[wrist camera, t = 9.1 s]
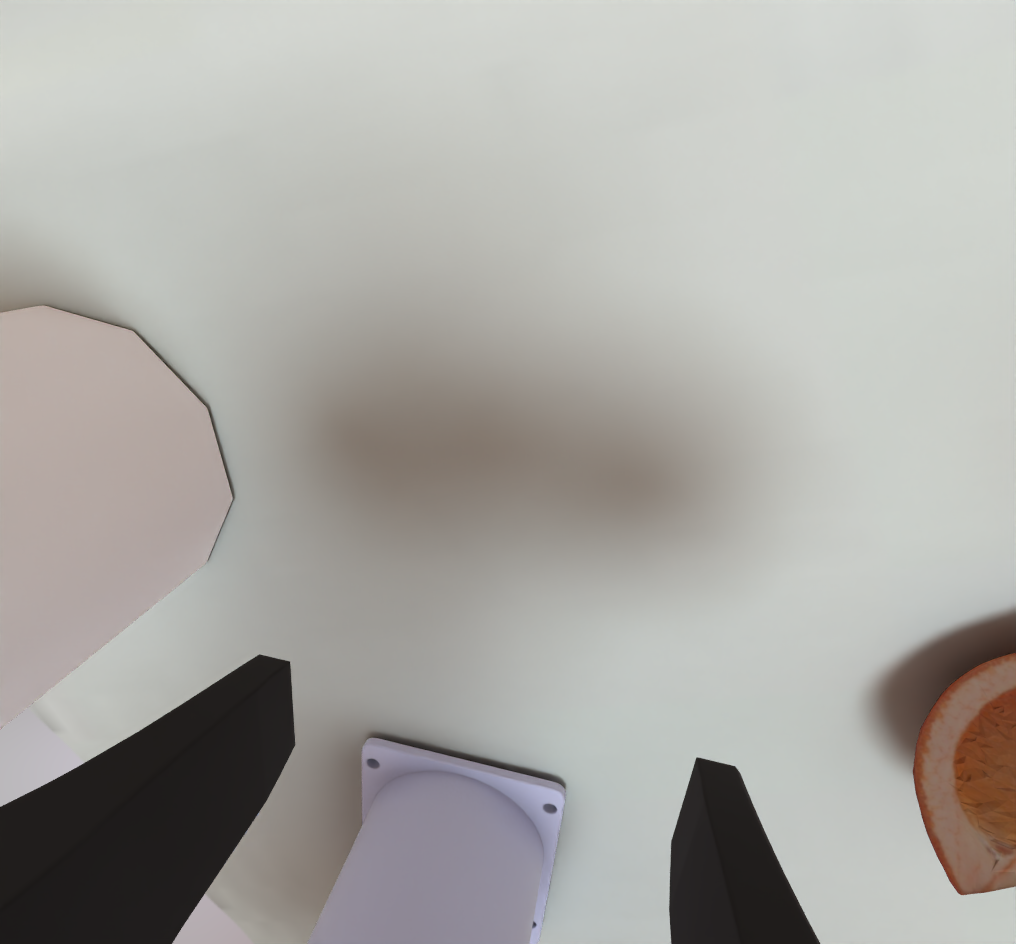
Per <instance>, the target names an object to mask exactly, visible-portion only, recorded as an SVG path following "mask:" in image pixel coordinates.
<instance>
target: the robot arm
mask: <svg viewBox="0 0 1016 944" xmlns="http://www.w3.org/2000/svg"><path fill="white" fill-rule="evenodd" d="M294 746H295V734H294V718H293V701H292V685H291V669H290V662H289V661H285V660H280V659H276V658H272V657H268V656H263V655H258V656H256V657H255V658H253V659H252V660H250V661H248V662H247V663H245V664H244V665H242V666H240V667H239V668H237V669H236V670H234V671H233V672H231V673H230V674H228V675H227V676H225V677H223V678H222V679H220V680H219V681H217V682H216V683H214V684H213V685H211V686H210V687H208V688H207V689H205V690H203V691H202V692H200V693H199V694H197V695H196V696H194V697H193V698H191V699H190V700H188V701H186V702H185V703H183V704H182V705H180V706H179V707H177V708H175V709H174V710H172V711H171V712H169V713H167V714H166V715H164V716H163V717H161V718H159V719H158V720H156V721H155V722H153V723H152V724H150V725H148V726H147V727H145V728H144V729H142V730H140V731H139V732H137V733H135V734H134V735H132V736H130V737H128V738H127V739H125V740H123V741H122V742H120V743H118V744H116V745H115V746H113V747H111V748H109V749H108V750H106V751H104V752H103V753H101V754H99V755H97V756H96V757H94V758H92V759H91V760H89V761H87V762H85V763H84V764H82V765H80V766H79V767H77V768H75V769H73V770H71V771H69V772H68V773H66V774H64V775H62V776H60V777H58V778H57V779H55V780H53V781H51V782H49V783H47V784H45V785H43V786H41V787H40V788H38V789H36V790H33V791H31V792H29V793H27V794H25V795H24V796H21V797H19V798H17V799H15V800H13V801H11V802H9V803H7V804H6V805H3V806H2V807H0V944H172V943H173V941H174V940H175V938H176V936H177V935H178V933H179V931H180V930H181V928H182V927H183V925H184V924H185V922H186V921H187V919H188V918H189V916H190V915H191V913H192V912H193V910H194V909H195V907H196V906H197V904H198V903H199V901H200V900H201V898H202V897H203V895H204V894H205V892H206V891H207V889H208V888H209V886H210V885H211V883H212V882H213V880H214V879H215V877H216V876H217V875H218V873H219V872H220V870H221V869H222V867H223V866H224V864H225V863H226V861H227V860H228V858H229V857H230V855H231V854H232V852H233V851H234V849H235V848H236V846H237V845H238V843H239V842H240V840H241V839H242V837H243V836H244V834H245V833H246V831H247V830H248V828H249V827H250V825H251V824H252V822H253V821H254V819H255V817H256V816H257V814H258V813H259V811H260V810H261V808H262V807H263V805H264V804H265V802H266V801H267V799H268V797H269V795H270V793H271V791H272V789H273V787H274V786H275V784H276V782H277V780H278V778H279V776H280V774H281V772H282V770H283V768H284V766H285V764H286V762H287V760H288V758H289V756H290V754H291V752H292V750H293V748H294ZM565 798H566V791H565V789H564V787H563V786H561V785H560V784H559V783H556V782H553V781H549V780H545V779H541V778H537V777H533V776H529V775H525V774H521V773H517V772H512V771H508V770H504V769H500V768H496V767H492V766H488V765H484V764H480V763H476V762H472V761H468V760H464V759H460V758H456V757H452V756H448V755H444V754H440V753H436V752H432V751H428V750H424V749H420V748H415V747H411V746H407V745H403V744H399V743H395V742H391V741H387V740H383V739H379V738H369V739H368V740H367V741H366V742H365V744H364V745H363V747H362V827H361V829H360V831H359V833H358V836H357V838H356V840H355V842H354V844H353V846H352V848H351V851H350V853H349V855H348V857H347V859H346V861H345V863H344V865H343V868H342V870H341V872H340V874H339V876H338V878H337V880H336V883H335V885H334V887H333V889H332V891H331V893H330V895H329V897H328V900H327V902H326V904H325V906H324V908H323V910H322V912H321V914H320V917H319V919H318V921H317V923H316V925H315V927H314V929H313V932H312V934H311V936H310V938H309V940H308V942H307V944H537V943H538V942H539V940H540V935H541V929H542V924H543V918H544V913H545V908H546V902H547V897H548V891H549V886H550V880H551V875H552V870H553V864H554V859H555V853H556V848H557V842H558V837H559V832H560V826H561V821H562V815H563V810H564V804H565ZM551 804H552V805H551ZM669 912H670V929H671V944H820V942H819V940H818V938H817V937H816V935H815V933H814V931H813V929H812V927H811V925H810V923H809V922H808V920H807V918H806V916H805V914H804V912H803V910H802V908H801V906H800V904H799V902H798V900H797V898H796V896H795V894H794V892H793V890H792V888H791V886H790V884H789V882H788V880H787V878H786V876H785V874H784V872H783V870H782V868H781V865H780V863H779V861H778V859H777V857H776V855H775V853H774V851H773V848H772V846H771V844H770V842H769V840H768V838H767V835H766V833H765V831H764V829H763V827H762V824H761V822H760V820H759V817H758V815H757V813H756V811H755V808H754V806H753V804H752V801H751V799H750V796H749V794H748V792H747V789H746V787H745V784H744V782H743V779H742V777H741V774H740V772H739V771H738V770H737V768H736V767H735V766H731V765H727V764H723V763H719V762H714V761H710V760H706V759H702V758H696V761H695V764H694V768H693V771H692V774H691V778H690V781H689V784H688V788H687V791H686V794H685V798H684V801H683V804H682V808H681V811H680V814H679V818H678V821H677V825H676V828H675V831H674V835H673V838H672V841H671V867H670V904H669Z"/></svg>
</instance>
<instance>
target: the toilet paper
mask: <svg viewBox="0 0 1016 944" xmlns="http://www.w3.org/2000/svg"><path fill="white" fill-rule="evenodd" d="M232 500H233V497H232V493H231V490H230V486H229V483H228V479H227V476H226V472H225V469H224V465H223V462H222V458H221V455H220V451H219V447H218V444H217V440H216V437H215V433H214V430H213V426H212V423H211V419H210V416H209V412H208V409H207V408H206V406H205V405H204V404H203V403H202V402H201V401H200V400H199V399H198V398H197V397H196V396H195V395H194V394H193V393H192V392H191V391H190V390H189V389H188V388H187V387H186V386H185V385H184V384H183V382H182V381H181V380H180V379H179V378H178V377H177V376H176V375H175V374H174V373H173V372H172V371H171V370H170V369H169V368H168V367H167V366H166V365H165V364H164V363H163V362H162V361H161V360H160V359H159V357H158V356H157V355H156V354H155V353H154V352H153V351H152V350H151V349H150V348H149V347H148V346H147V345H146V344H145V343H144V342H143V341H142V340H141V339H140V338H139V337H138V336H137V335H136V334H135V332H134V331H132V330H128V329H125V328H121V327H118V326H114V325H111V324H107V323H104V322H100V321H97V320H93V319H90V318H86V317H83V316H79V315H76V314H72V313H69V312H65V311H62V310H58V309H55V308H51V307H48V306H44V305H41V306H36V307H30V308H24V309H18V310H13V311H7V312H1V313H0V729H2V728H3V727H4V726H5V725H7V724H8V723H9V722H10V721H12V720H13V719H14V718H15V717H16V716H18V715H19V714H20V713H21V712H23V711H24V710H25V709H26V708H28V707H29V706H30V705H31V704H33V703H34V702H35V701H36V700H38V699H39V698H40V697H41V696H43V695H44V694H45V693H46V692H47V691H49V690H50V689H51V688H52V687H54V686H55V685H56V684H57V683H59V682H60V681H61V680H62V679H64V678H65V677H66V676H67V675H69V674H70V673H71V672H72V671H73V670H75V669H76V668H77V667H78V666H80V665H81V664H82V663H83V662H85V661H86V660H87V659H88V658H90V657H91V656H92V655H93V654H94V653H96V652H97V651H98V650H99V649H101V648H102V647H103V646H104V645H106V644H107V643H108V642H109V641H111V640H112V639H113V638H114V637H116V636H117V635H118V634H119V633H120V632H122V631H123V630H124V629H125V628H127V627H128V626H129V625H130V624H132V623H133V622H134V621H135V620H137V619H138V618H139V617H140V616H141V615H143V614H144V613H145V612H146V611H148V610H149V609H150V608H151V607H153V606H154V605H155V604H156V603H158V602H159V601H160V600H161V599H163V598H164V597H165V596H166V595H167V594H169V593H170V592H171V591H172V590H174V589H175V588H176V587H177V586H179V585H180V584H181V583H182V582H184V581H185V580H186V579H187V578H188V577H190V576H191V575H192V574H193V573H195V572H196V571H197V570H198V569H200V568H201V567H202V566H203V565H205V564H206V562H207V560H208V558H209V555H210V553H211V550H212V548H213V546H214V543H215V541H216V538H217V536H218V534H219V531H220V529H221V526H222V524H223V522H224V519H225V517H226V514H227V512H228V510H229V507H230V505H231V502H232Z"/></svg>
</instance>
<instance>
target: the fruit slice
mask: <svg viewBox="0 0 1016 944" xmlns="http://www.w3.org/2000/svg"><path fill="white" fill-rule="evenodd" d="M913 776H914V783H915V791H916V795H917V799H918V803H919V807H920V810H921V815H922V818H923V822H924V825H925V828H926V831H927V834H928V837H929V839H930V841H931V843H932V846H933V848H934V850H935V852H936V855H937V857H938V859H939V861H940V863H941V864H942V866H943V868H944V870H945V872H946V874H947V876H948V878H949V881H950V882H951V884H952V885H953V886H954V888H955V889H956V891H957V892H958V893H959V894H961V895H967V894H975V893H985V892H990V891H995V890H1000V889H1005V888H1010V887H1015V886H1016V653H1012V654H1008V655H1004V656H1001V657H998V658H995V659H992V660H990V661H987V662H985V663H982V664H980V665H978V666H976V667H975V668H973V669H972V670H970V671H968V672H967V673H965V674H964V675H962V676H961V677H960V678H958V679H957V680H956V681H955V682H953V683H952V684H951V685H950V686H949V687H948V688H947V689H946V690H945V691H944V692H943V693H942V694H941V696H940V697H939V699H938V700H937V701H936V703H935V704H934V706H933V708H932V709H931V711H930V713H929V714H928V716H927V718H926V719H925V721H924V723H923V725H922V727H921V729H920V732H919V736H918V740H917V744H916V750H915V759H914V767H913Z"/></svg>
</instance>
